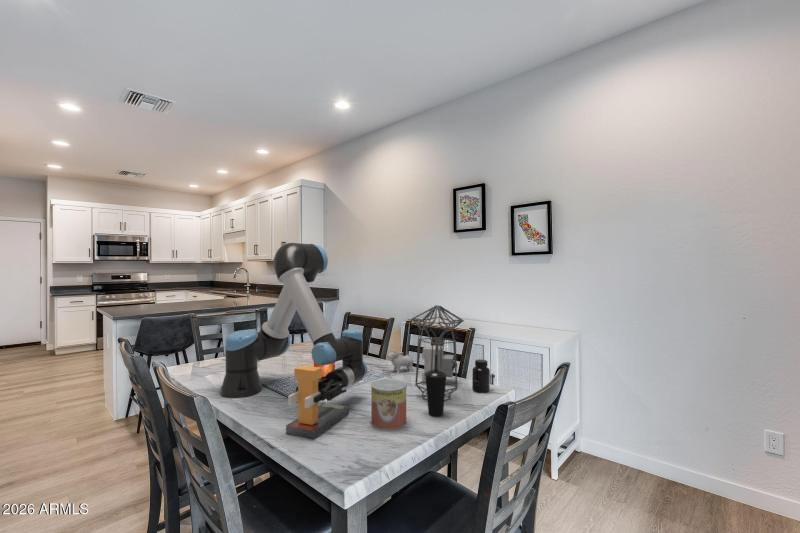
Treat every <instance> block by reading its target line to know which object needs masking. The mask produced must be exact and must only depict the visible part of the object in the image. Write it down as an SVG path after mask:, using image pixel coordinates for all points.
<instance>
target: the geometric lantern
mask: <svg viewBox="0 0 800 533" xmlns="http://www.w3.org/2000/svg"><path fill="white" fill-rule="evenodd" d="M424 314H425V316H424V317H423V318H418V317H420V316H422V315H424ZM450 315H451V316H452V317H454V318H456V319H453V318H452V317H451V316H450ZM437 319H438V322H436V320H437ZM431 320H432V321H431ZM440 320H441V321H440ZM410 321H412V322H413V323H414V324H415V325H416V326H417V327H418V329H419V333H418V338H417V354H416V355H417V356H416V369H415V387H417V389H419V391H420V392H421V393H422V394H421V399H424V400H425V401H427V389H426V388H425V387H423V386H420V384H421V385H422V383H426V381H424V382H422V381H420V382H418V379H419V378H418V377H419V368H420V358H421V357H420V356H421V344H422V342H424V343H428V344H431V345H432V354H431V370H432V368H433V346H434V345H435V346H436V347H435V354H436V353H437V369H438V370H439V366H438V346H440V370H442V346H443V344H444V345H445V344H451V343H452V344H453V347H452V348H453V355H454V363H455V368H454V373H455V374H454V375H455V379H454V380H455V384H454V383H451V382H448V381H446V384H447V385H451V386H453V388H445V397H446V398H445V399H444V402H446V401H449V400H451V399H452V398H451V394H453V393H454V392H455V391H457V390H458V388H459V387H458V372H457V370H458V369H457V368H458V364H457V365H456V363H457V340H456V339H455V334H454V331H453V330H455V329H456V328H457V327H458V326H460V324H462V323H464V322H465V320H464V319H462V318H461V317H459V316H457V315H456V314H455V313H452V312H451V311H449V310H448V309H446V308H445V307H444V306H441V305H438V304H437V305H436V304H435V305H434V306H433V307H431V308H429V309H427V310H425V311H423V312H421V313H419V314H417V315H416V316H414V317H412V318H411V319H410ZM446 321H447V322H446ZM422 323H423V324H422ZM425 324H426V325H425ZM427 324H428V325H427ZM434 324H437V325H439V327H440V328H441V329H442V330H443V331H442V332H441V334H439V337H437V335H436V334H435V333H434V331H433V329H432V328H431V326H432V325H434ZM442 324H443V325H445V327H444V326H443V325H442ZM421 326H422V327H421ZM427 329H429V330H430V331H431V332H432V334H433V335H434V336H433V337H431V336H430V334H429V332H428V330H427ZM424 331H425V333H426V335H427V336H428V337H425V338H423V333H424ZM447 332H451V336H452V339H450V338H445V337H444V335H445V334H446V333H447ZM433 339H435V342H434V341H433ZM426 340H427V341H426ZM428 340H429V341H428ZM442 340H447V341H446V342H445V341H444V342H442ZM430 341H431V342H430ZM438 341H439V342H438ZM434 369H435V365H434ZM425 397H426V398H425Z"/></svg>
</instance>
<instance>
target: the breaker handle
mask: <svg viewBox="0 0 800 533" xmlns="http://www.w3.org/2000/svg"><path fill="white" fill-rule="evenodd" d="M293 375H294V379H295V380H298V381H297V385H298V386H297V387H298V402H297V404H298V406H297V408H298V409H297V415H298V416H297V419H298V423H304V424H309V425H313V424H315V423H316V422H318V406H319V402H317V403H315V404H314V405H312V406H310V407H308V408H305V398H307V397H309V396H310V395H312V394H314V393H316V392H318V381H319V380H321V379H323V368H322V367H320V366H309V365H300V366H298V367H295V368H294V374H293Z"/></svg>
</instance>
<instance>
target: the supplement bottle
mask: <svg viewBox="0 0 800 533" xmlns="http://www.w3.org/2000/svg"><path fill="white" fill-rule="evenodd" d="M471 379H472V380H471V381H472V382H471V386H472V387H471V388H472V391H473V392H475V393H478V394H487V393H490V386H491V385H490V383H491V382H490V381H491V370H490V368H489V367H488V360H486V359H475V362H474V367H473V368H472V378H471Z"/></svg>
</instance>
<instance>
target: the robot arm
mask: <svg viewBox="0 0 800 533" xmlns="http://www.w3.org/2000/svg"><path fill="white" fill-rule="evenodd" d="M273 257H274V258H273V268H274V273H275V275H276V278H277V280H278V282H279V283H280V284H283V287H282V289H281V291H280V294H279V296H278V298H277V300H276V303H275V304H274V307H273V310H272V311H271V314H270V317H269V319H268V320H267V321H265V322H263V323H262V325H261V327H260V330H258V331H257V330H255V329H245V330H237V331H235V332H232V333H230V334H229V335H228V336H227V337H226V339H225V346H224V348H225V375H224V378H223V380H222V385H221V387H220V395H221V396H222V397H225V398H245V397H250V396H252V395H256V394H258V393H260V392H261V391H262V390H263V383H262V381H261V378H260V374H259V371H258V362H259V361H264V360H268V359H273V358H277V357H279V356H281V355H284V354H285V353H286V352H287V351H288V350H289V349H290V344H291V340H290V339H291V336H290V331H289V329H288V328H289V327H290V324H291V322H292V320H293V318H294V316H295V314H296V312H297V314H298V316H299V318H300V320H301V322H302V324H303V326H304V328H305V331H306V332H307V335H308V336H309V338H310V340H311V343H312V344H313V347H312V348H311V359H312V361H313V362H314V364H316V365H318V366H319V367H320V366H322V367H324V366H328V365H333V364H334V363H336V362H339V361H340V362H342V365H341V366H339V367H337V368H335V369H333V370H331V371H329V372H327V373H326V374H325V377H324V378H321V379H319V380H318V392H316V393H314V394H312V395H310V396H309V397H307V398H305V408H308V407H310V406H312V405H314V404H315V403H317V402H318V403H319V402H321V401H325V400H326V401H327V402H329V401H332V400H333V399H335V398H337V397H339V396H340V395H342V394H344V393H346V392H347V388H349V387H351V386H353V385H354V384H356V383H358V382H360V381H361V380H362V379H363V378H365V377H366V375H367V373H368V367H367V364H366V362H365V360H364V359H363V358H364V356H363V355H364V354H363V353H364V352H363V351H364V346H363V344H364V340H363V332H362V330H361V329H356V328H351V329H344V330H343V331H342V333H341V337H339V338H336V336H335V335H334V333H333V331H332V328H331V327H330V325H329V322H328V321H327V319H326V317H325V315H324V313H323V311H322V309H321V307H320V304H319V303H318V301H317V298H316V297H315V295H314V293H313V291H312V290H311V287H310V285H309V284H310V283H313V282H314V281H315V280H316V278H317V275H318V274H321V273H323V272H325V270H326V269H327V267H328V264H329V259H328V256H327V252H326V250H325V249H324V248H323V247H322V246H321V245H318V244H315V243H300V242H299V243H298V242H288V243H285V244H283V245H281V246H280V247H279V248H278V249H277V250H276V252H275V254H274V256H273ZM287 399H288V400H287V406H291V407H292V405H294V404H296V403H298V386H296V387H295V392H293V393H292V394H290V395H288V396H287Z"/></svg>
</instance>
